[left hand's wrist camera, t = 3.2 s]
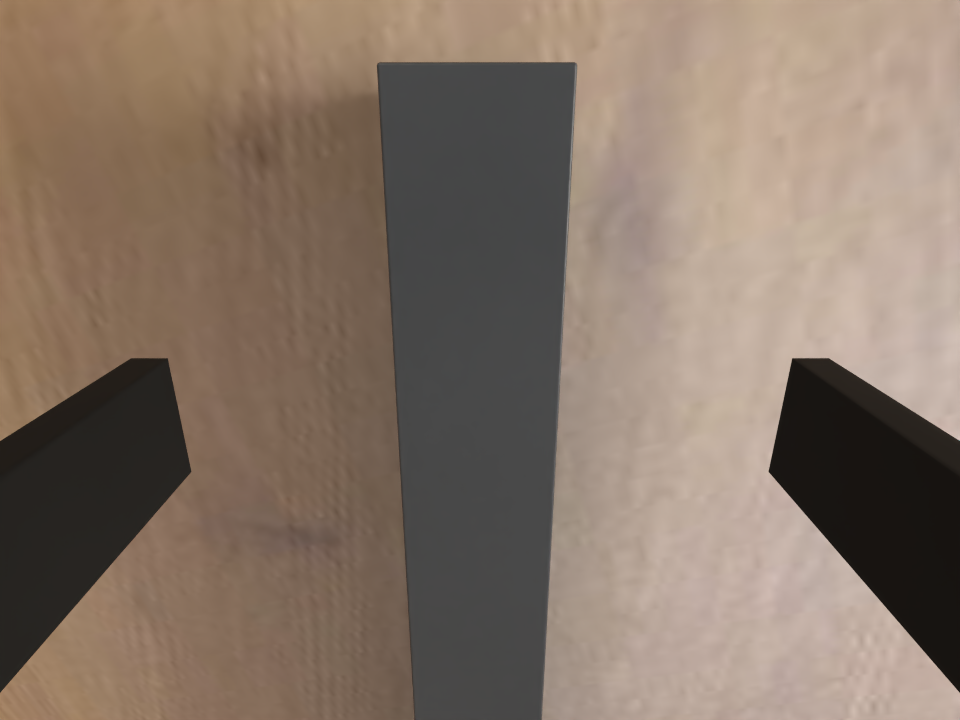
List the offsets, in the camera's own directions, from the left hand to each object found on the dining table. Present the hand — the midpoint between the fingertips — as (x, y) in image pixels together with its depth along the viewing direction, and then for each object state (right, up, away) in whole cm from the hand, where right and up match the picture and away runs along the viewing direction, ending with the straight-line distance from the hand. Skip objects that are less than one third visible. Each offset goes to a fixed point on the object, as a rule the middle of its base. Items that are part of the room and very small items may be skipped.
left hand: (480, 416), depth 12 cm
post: (0, -19, +22) cm, 29 cm away
